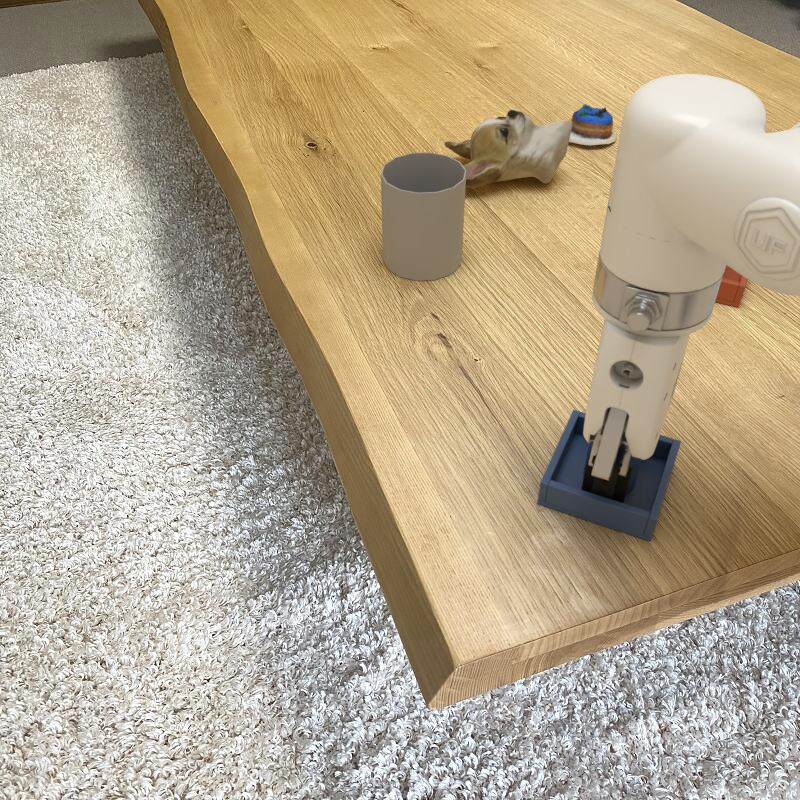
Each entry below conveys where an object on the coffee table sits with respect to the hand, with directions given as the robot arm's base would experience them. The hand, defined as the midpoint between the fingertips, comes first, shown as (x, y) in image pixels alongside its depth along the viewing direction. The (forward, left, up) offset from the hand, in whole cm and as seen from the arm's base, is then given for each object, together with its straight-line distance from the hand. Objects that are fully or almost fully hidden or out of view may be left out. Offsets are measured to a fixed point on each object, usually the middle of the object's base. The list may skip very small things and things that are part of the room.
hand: (610, 475), depth 65 cm
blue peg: (0, 0, 0) cm, 0 cm away
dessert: (+18, -58, -1) cm, 61 cm away
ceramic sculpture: (+24, -43, -1) cm, 49 cm away
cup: (+26, -23, -1) cm, 35 cm away
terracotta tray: (-1, -32, -1) cm, 32 cm away
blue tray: (0, 0, -1) cm, 1 cm away
